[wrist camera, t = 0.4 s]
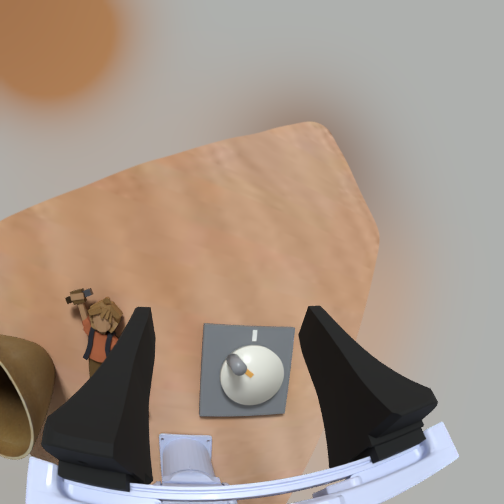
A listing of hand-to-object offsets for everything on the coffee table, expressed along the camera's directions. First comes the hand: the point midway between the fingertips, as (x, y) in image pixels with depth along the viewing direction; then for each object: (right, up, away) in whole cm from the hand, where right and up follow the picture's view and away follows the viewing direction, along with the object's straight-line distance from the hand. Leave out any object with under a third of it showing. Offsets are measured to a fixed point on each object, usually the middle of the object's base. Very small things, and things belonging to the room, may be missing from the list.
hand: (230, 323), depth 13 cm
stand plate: (0, -14, +26) cm, 29 cm away
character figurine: (-19, -11, +21) cm, 31 cm away
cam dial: (+1, -14, +25) cm, 29 cm away
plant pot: (-31, -13, +17) cm, 38 cm away
